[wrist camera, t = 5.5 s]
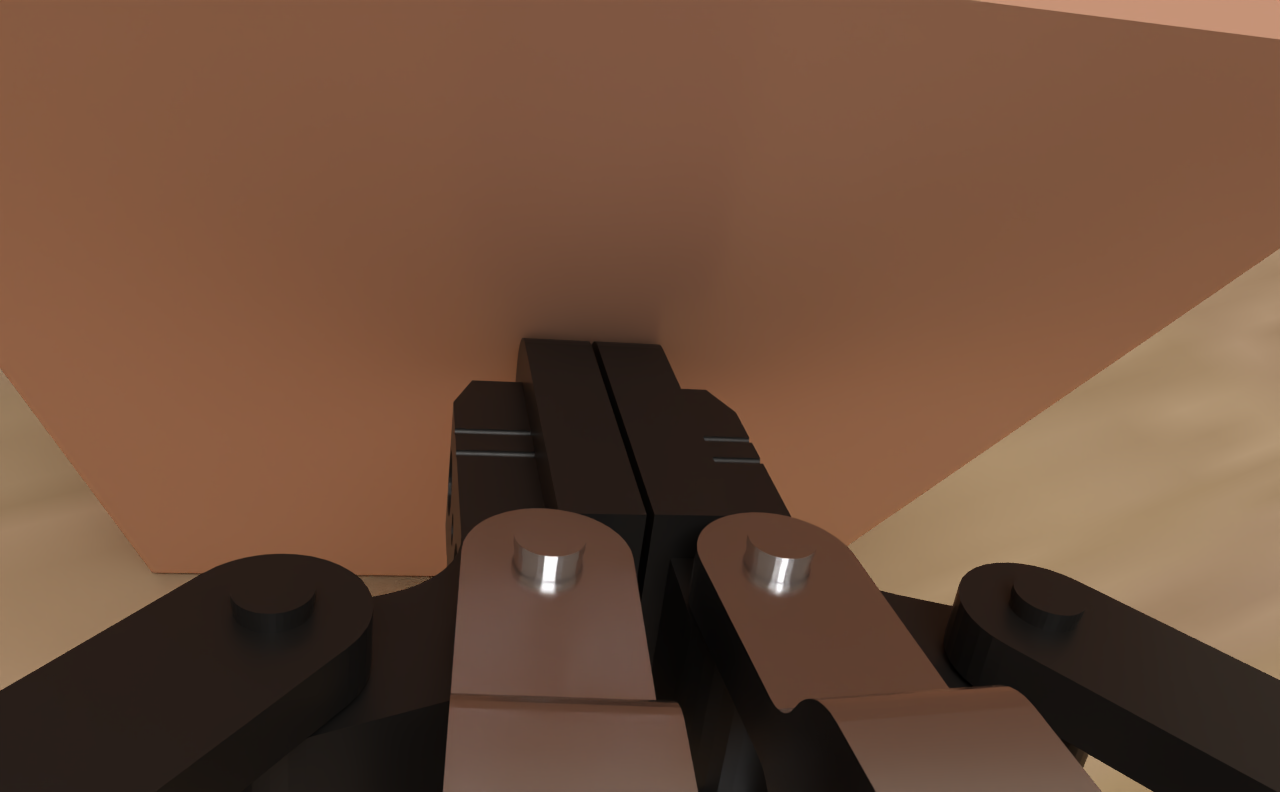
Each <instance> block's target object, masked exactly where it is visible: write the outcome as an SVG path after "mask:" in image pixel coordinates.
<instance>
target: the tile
mask: <svg viewBox="0 0 1280 792" xmlns="http://www.w3.org/2000/svg"><path fill="white" fill-rule="evenodd" d="M1278 249H1280V0H0V368H1V370H2V371H3V372H4V374H5V375H6V376H7V378H8V379H9V380H10V382H11V383H12V384H13V386H14V387H15V388H16V390H17V391H18V392H19V394H20V395H21V397H22V398H23V399H24V401H25V402H26V403H27V405H28V406H29V407H30V409H31V410H32V411H33V413H34V414H35V415H36V417H37V418H38V419H39V421H40V422H41V423H42V425H43V426H44V427H45V429H46V430H47V431H48V433H49V434H50V436H51V437H52V438H53V440H54V441H55V442H56V444H57V445H58V446H59V448H60V449H61V450H62V452H63V453H64V454H65V456H66V457H67V458H68V460H69V461H70V462H71V464H72V465H73V466H74V468H75V469H76V471H77V472H78V473H79V475H80V476H81V477H82V479H83V480H84V481H85V483H86V484H87V485H88V487H89V488H90V489H91V491H92V492H93V493H94V495H95V496H96V497H97V499H98V500H99V501H100V503H101V504H102V506H103V507H104V508H105V510H106V511H107V512H108V514H109V515H110V516H111V518H112V519H113V520H114V522H115V523H116V524H117V526H118V527H119V528H120V530H121V531H122V532H123V534H124V535H125V536H126V538H127V539H128V541H129V542H130V543H131V545H132V546H133V547H134V549H135V550H136V551H137V553H138V554H139V555H140V557H141V558H142V559H143V561H144V562H145V563H146V565H147V566H148V567H149V569H150V570H151V571H152V573H204V572H206V571H208V570H210V569H212V568H214V567H216V566H219V565H222V564H224V563H227V562H230V561H233V560H237V559H241V558H245V557H250V556H257V555H264V554H299V555H306V556H313V557H317V558H321V559H325V560H328V561H331V562H333V563H336V564H338V565H341V566H342V567H344V568H346V569H348V570H350V571H351V572H353V573H354V574H355V575H409V576H436V575H437V574H439V573H440V572H441V571H443V570H444V569H445V568H446V567H447V555H446V529H445V523H446V508H447V492H448V477H449V461H450V446H451V430H452V415H453V402H454V401H455V399H456V398H457V397H458V396H459V395H460V394H461V393H462V391H463V390H464V389H465V388H466V387H467V386H468V384H469V383H470V382H471V381H472V380H479V381H503V382H515V381H516V370H517V359H518V352H519V346H520V342H521V339H522V338H534V339H554V340H574V341H589V342H590V343H591V345H592V343H593V342H594V341H598V342H618V343H639V344H659V345H661V346H662V348H663V350H664V352H665V355H666V357H667V359H668V361H669V363H670V365H671V368H672V370H673V372H674V374H675V376H676V379H677V381H678V383H679V385H680V387H681V389H700V390H707V391H708V392H710V393H711V394H712V395H714V396H715V397H716V398H718V399H719V400H720V401H722V402H723V403H724V404H726V405H727V406H728V407H730V408H731V409H732V410H733V411H735V412H736V413H737V415H738V417H739V419H740V421H741V423H742V425H743V427H744V428H745V430H746V432H747V434H748V436H749V442H751V443H752V444H753V445H754V447H755V449H756V451H757V453H758V455H759V457H760V464H764V466H765V468H766V470H767V472H768V474H769V476H770V477H771V479H772V481H773V483H774V485H775V487H776V489H777V491H778V493H779V494H780V496H781V498H782V500H783V502H784V504H785V506H786V508H787V509H788V511H789V513H790V515H791V517H793V518H796V519H799V520H803V521H806V522H808V523H811V524H813V525H816V526H818V527H820V528H822V529H824V530H825V531H827V532H829V533H831V534H832V535H834V536H835V537H837V538H838V539H839V540H840V541H842V542H843V543H844V544H845V545H846V546H848V545H849V544H850V543H852V542H853V541H855V540H856V539H858V538H859V537H861V536H862V535H864V534H865V533H866V532H868V531H869V530H871V529H872V528H874V527H875V526H877V525H878V524H880V523H881V522H882V521H884V520H885V519H887V518H888V517H890V516H891V515H893V514H894V513H896V512H897V511H898V510H900V509H901V508H903V507H904V506H906V505H907V504H909V503H910V502H912V501H913V500H914V499H916V498H917V497H919V496H920V495H922V494H923V493H925V492H926V491H928V490H929V489H930V488H932V487H933V486H935V485H936V484H938V483H939V482H941V481H942V480H944V479H945V478H946V477H948V476H949V475H951V474H952V473H954V472H955V471H957V470H958V469H960V468H961V467H962V466H964V465H965V464H967V463H968V462H970V461H971V460H973V459H974V458H976V457H977V456H978V455H980V454H981V453H983V452H984V451H986V450H987V449H989V448H990V447H992V446H993V445H994V444H996V443H997V442H999V441H1000V440H1002V439H1003V438H1005V437H1006V436H1008V435H1009V434H1010V433H1012V432H1013V431H1015V430H1016V429H1018V428H1019V427H1021V426H1022V425H1024V424H1025V423H1026V422H1028V421H1029V420H1031V419H1032V418H1034V417H1035V416H1037V415H1038V414H1040V413H1041V412H1042V411H1044V410H1045V409H1047V408H1048V407H1050V406H1051V405H1053V404H1054V403H1056V402H1057V401H1058V400H1060V399H1061V398H1063V397H1064V396H1066V395H1067V394H1069V393H1070V392H1072V391H1073V390H1074V389H1076V388H1077V387H1079V386H1080V385H1082V384H1083V383H1085V382H1086V381H1088V380H1089V379H1090V378H1092V377H1093V376H1095V375H1096V374H1098V373H1099V372H1101V371H1102V370H1104V369H1105V368H1106V367H1108V366H1109V365H1111V364H1112V363H1114V362H1115V361H1117V360H1118V359H1120V358H1121V357H1122V356H1124V355H1125V354H1127V353H1128V352H1130V351H1131V350H1133V349H1134V348H1136V347H1137V346H1138V345H1140V344H1141V343H1143V342H1144V341H1146V340H1147V339H1149V338H1150V337H1152V336H1153V335H1154V334H1156V333H1157V332H1159V331H1160V330H1162V329H1163V328H1165V327H1166V326H1168V325H1169V324H1170V323H1172V322H1173V321H1175V320H1176V319H1178V318H1179V317H1181V316H1182V315H1184V314H1185V313H1186V312H1188V311H1189V310H1191V309H1192V308H1194V307H1195V306H1197V305H1198V304H1200V303H1201V302H1202V301H1204V300H1205V299H1207V298H1208V297H1210V296H1211V295H1213V294H1214V293H1216V292H1217V291H1218V290H1220V289H1221V288H1223V287H1224V286H1226V285H1227V284H1229V283H1230V282H1232V281H1233V280H1234V279H1236V278H1237V277H1239V276H1240V275H1242V274H1243V273H1245V272H1246V271H1248V270H1249V269H1250V268H1252V267H1253V266H1255V265H1256V264H1258V263H1259V262H1261V261H1262V260H1264V259H1265V258H1266V257H1268V256H1269V255H1271V254H1272V253H1274V252H1275V251H1277V250H1278Z"/></svg>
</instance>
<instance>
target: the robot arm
mask: <svg viewBox="0 0 1280 792" xmlns="http://www.w3.org/2000/svg"><path fill="white" fill-rule="evenodd" d="M445 529H446V555H447V567H446V568H445V569H444V570H443V571H441V572H440V573H439V574H437V575H436V576H434V577H433V578H431V579H429V580H427V581H425V582H423V583H421V584H419V585H416V586H413V587H411V588H408V589H405V590H401V591H397V592H393V593H389V594H385V595H380V596H375V597H372V596H371V594H370V592H369V590H368V587H367V586H366V585H365V584H364V583H363V581H362V580H361V579H360V578H359V577H358V576H356V575H355V574H354V573H353V572H351V571H350V570H348V569H346V568H344V567H342V566H341V565H338V564H336V563H333V562H331V561H328V560H325V559H321V558H317V557H313V556H306V555H299V554H264V555H257V556H250V557H245V558H241V559H237V560H233V561H230V562H227V563H224V564H222V565H219V566H216V567H214V568H212V569H210V570H208V571H206V572H204V573H202V574H200V575H199V576H197V577H195V578H194V579H192V580H190V581H188V582H187V583H185V584H183V585H182V586H180V587H178V588H176V589H175V590H173V591H171V592H170V593H168V594H166V595H164V596H163V597H161V598H159V599H157V600H156V601H154V602H152V603H151V604H149V605H147V606H145V607H144V608H142V609H140V610H139V611H137V612H135V613H133V614H132V615H130V616H128V617H127V618H125V619H123V620H121V621H120V622H118V623H116V624H114V625H113V626H111V627H109V628H108V629H106V630H104V631H102V632H101V633H99V634H97V635H96V636H94V637H92V638H90V639H89V640H87V641H85V642H84V643H82V644H80V645H78V646H77V647H75V648H73V649H71V650H70V651H68V652H66V653H65V654H63V655H61V656H59V657H58V658H56V659H54V660H53V661H51V662H49V663H47V664H46V665H44V666H42V667H41V668H39V669H37V670H35V671H34V672H32V673H30V674H28V675H27V676H25V677H23V678H22V679H20V680H18V681H16V682H15V683H13V684H11V685H10V686H8V687H6V688H4V689H3V690H1V691H0V792H1101V790H1100V789H1099V788H1098V787H1097V785H1096V784H1095V783H1094V781H1093V780H1092V779H1091V778H1090V776H1089V775H1088V774H1087V773H1086V771H1085V770H1084V769H1083V767H1084V764H1085V762H1086V759H1087V757H1088V754H1089V755H1091V756H1093V757H1094V758H1096V759H1098V760H1100V761H1101V762H1103V763H1105V764H1106V765H1108V766H1110V767H1112V768H1113V769H1115V770H1117V771H1119V772H1120V773H1122V774H1124V775H1126V776H1127V777H1129V778H1131V779H1133V780H1134V781H1136V782H1138V783H1139V784H1141V785H1143V786H1145V787H1146V788H1148V789H1150V790H1152V791H1153V792H1280V680H1278V679H1276V678H1274V677H1272V676H1270V675H1268V674H1266V673H1264V672H1262V671H1260V670H1258V669H1256V668H1254V667H1252V666H1250V665H1248V664H1246V663H1243V662H1241V661H1239V660H1237V659H1235V658H1233V657H1231V656H1229V655H1227V654H1225V653H1223V652H1221V651H1219V650H1217V649H1215V648H1213V647H1211V646H1209V645H1207V644H1205V643H1203V642H1201V641H1199V640H1197V639H1195V638H1192V637H1190V636H1188V635H1186V634H1184V633H1182V632H1180V631H1178V630H1176V629H1174V628H1172V627H1170V626H1168V625H1166V624H1164V623H1162V622H1160V621H1158V620H1156V619H1154V618H1152V617H1150V616H1148V615H1146V614H1144V613H1142V612H1139V611H1137V610H1135V609H1133V608H1131V607H1129V606H1127V605H1125V604H1123V603H1121V602H1119V601H1117V600H1115V599H1113V598H1111V597H1109V596H1107V595H1105V594H1103V593H1101V592H1099V591H1097V590H1095V589H1093V588H1091V587H1089V586H1086V585H1084V584H1082V583H1080V582H1078V581H1076V580H1074V579H1072V578H1069V577H1067V576H1065V575H1062V574H1060V573H1057V572H1054V571H1051V570H1048V569H1044V568H1040V567H1036V566H1031V565H1025V564H1018V563H993V564H986V565H982V566H979V567H976V568H974V569H972V570H971V571H969V572H968V573H967V574H966V575H965V576H964V577H963V578H962V580H961V582H960V584H959V587H958V590H957V594H956V597H955V600H954V604H953V606H949V605H944V604H939V603H935V602H930V601H925V600H920V599H915V598H910V597H906V596H901V595H896V594H892V593H888V592H884V591H880V590H879V589H878V587H877V586H876V585H875V583H874V582H873V580H872V579H871V578H870V576H869V575H868V573H867V572H866V571H865V569H864V568H863V566H862V565H861V564H860V562H859V561H858V559H857V558H856V557H855V555H854V554H853V553H852V551H851V550H850V549H849V548H848V547H847V546H846V545H845V544H844V543H843V542H842V541H840V540H839V539H838V538H837V537H835V536H834V535H832V534H831V533H829V532H827V531H825V530H824V529H822V528H820V527H818V526H816V525H813V524H811V523H808V522H806V521H803V520H799V519H796V518H793V517H791V515H790V513H789V511H788V509H787V508H786V506H785V504H784V502H783V500H782V498H781V496H780V494H779V493H778V491H777V489H776V487H775V485H774V483H773V481H772V479H771V477H770V476H769V474H768V472H767V470H766V468H765V466H764V464H760V457H759V455H758V453H757V451H756V449H755V447H754V445H753V444H752V443H751V442H749V436H748V434H747V432H746V430H745V428H744V427H743V425H742V423H741V421H740V419H739V417H738V415H737V413H736V412H735V411H733V410H732V409H731V408H730V407H728V406H727V405H726V404H724V403H723V402H722V401H720V400H719V399H718V398H716V397H715V396H714V395H712V394H711V393H710V392H708V391H707V390H700V389H681V387H680V385H679V383H678V381H677V379H676V376H675V374H674V372H673V370H672V368H671V365H670V363H669V361H668V359H667V357H666V355H665V352H664V350H663V348H662V346H661V345H659V344H639V343H618V342H598V341H594V342H593V343H592V345H591V343H590V342H589V341H574V340H554V339H534V338H522V339H521V342H520V346H519V352H518V359H517V370H516V381H515V382H503V381H479V380H472V381H471V382H470V383H469V384H468V386H467V387H466V388H465V389H464V390H463V391H462V393H461V394H460V395H459V396H458V397H457V398H456V399H455V401H454V402H453V415H452V430H451V446H450V461H449V477H448V492H447V508H446V523H445Z"/></svg>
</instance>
